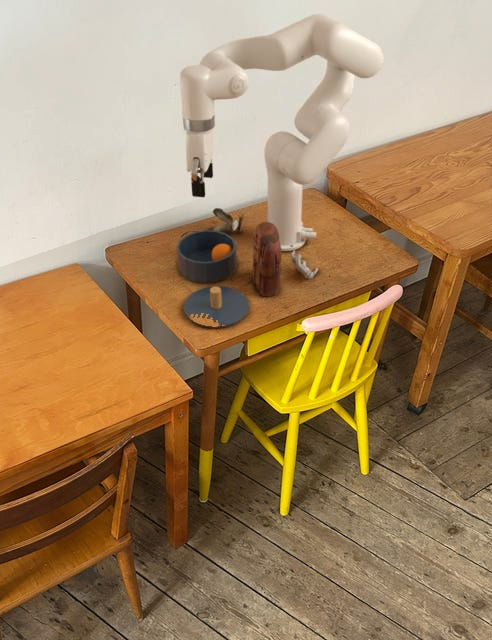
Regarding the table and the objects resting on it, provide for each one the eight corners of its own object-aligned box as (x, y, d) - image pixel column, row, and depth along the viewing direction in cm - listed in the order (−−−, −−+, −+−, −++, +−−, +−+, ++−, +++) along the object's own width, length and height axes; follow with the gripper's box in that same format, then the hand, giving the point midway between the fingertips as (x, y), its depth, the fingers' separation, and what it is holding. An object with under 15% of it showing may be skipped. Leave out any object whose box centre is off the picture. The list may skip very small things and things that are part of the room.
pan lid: (253, 292, 193) (253, 273, 189) (242, 332, 181) (242, 313, 177) (191, 287, 195) (190, 268, 191) (177, 326, 183) (175, 307, 179)
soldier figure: (308, 261, 205) (329, 272, 195) (299, 275, 205) (319, 287, 195) (289, 246, 201) (309, 256, 191) (279, 261, 201) (298, 272, 191)
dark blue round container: (240, 252, 207) (240, 232, 202) (230, 285, 195) (230, 265, 191) (186, 247, 208) (184, 228, 204) (173, 280, 197) (171, 260, 193)
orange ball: (213, 262, 204) (234, 259, 204) (213, 270, 198) (235, 268, 198) (210, 241, 201) (232, 239, 201) (210, 249, 196) (232, 247, 196)
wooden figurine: (248, 273, 199) (247, 215, 187) (271, 270, 200) (272, 212, 188) (260, 299, 191) (260, 240, 179) (284, 295, 192) (285, 236, 180)
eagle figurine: (242, 219, 217) (212, 213, 217) (245, 208, 210) (213, 202, 210) (238, 242, 215) (208, 236, 215) (240, 233, 209) (209, 226, 208)
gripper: (191, 105, 181) (195, 169, 192) (175, 137, 168) (180, 203, 180) (221, 107, 180) (223, 171, 191) (207, 139, 167) (210, 205, 179)
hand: (202, 186), depth 185 cm, fingers open, 9 cm apart
